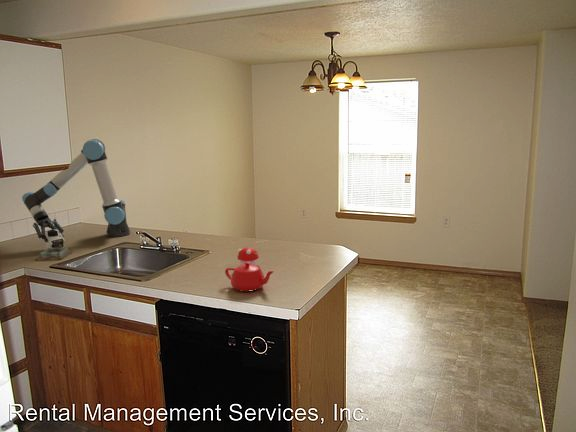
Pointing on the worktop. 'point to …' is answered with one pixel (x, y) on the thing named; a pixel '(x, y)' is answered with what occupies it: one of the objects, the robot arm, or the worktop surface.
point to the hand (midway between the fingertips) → (57, 243)
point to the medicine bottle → (55, 239)
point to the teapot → (247, 277)
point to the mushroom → (247, 255)
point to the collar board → (54, 254)
